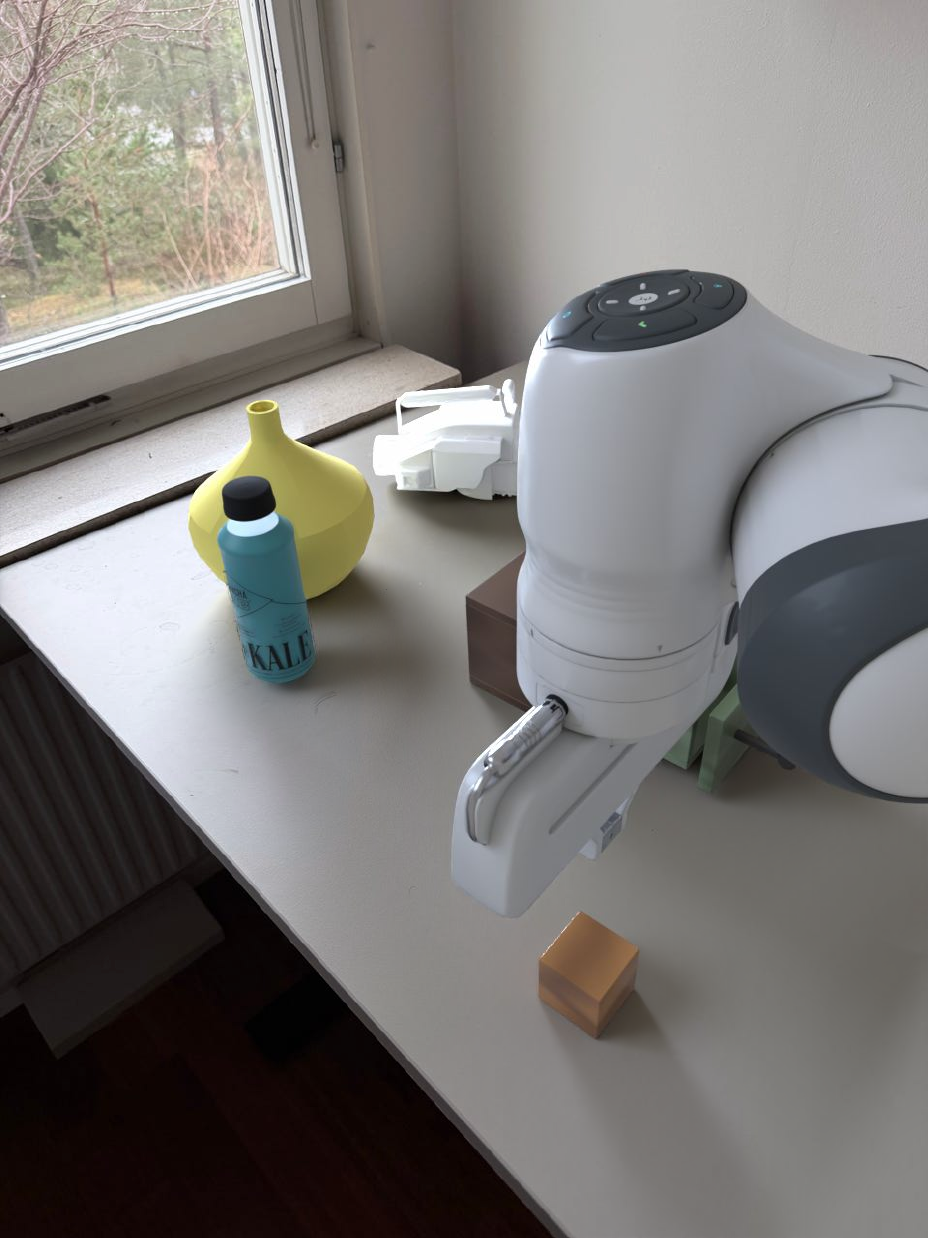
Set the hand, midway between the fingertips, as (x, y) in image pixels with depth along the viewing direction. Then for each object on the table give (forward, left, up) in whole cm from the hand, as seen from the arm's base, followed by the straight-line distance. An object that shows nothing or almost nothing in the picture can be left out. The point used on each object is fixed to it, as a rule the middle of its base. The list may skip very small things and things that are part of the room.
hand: (597, 838), depth 51 cm
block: (0, 0, -15) cm, 15 cm away
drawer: (+13, -21, -14) cm, 29 cm away
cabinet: (+24, -18, -15) cm, 34 cm away
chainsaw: (+56, -34, -16) cm, 67 cm away
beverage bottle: (+40, +4, -16) cm, 43 cm away
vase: (+54, -3, -16) cm, 56 cm away
